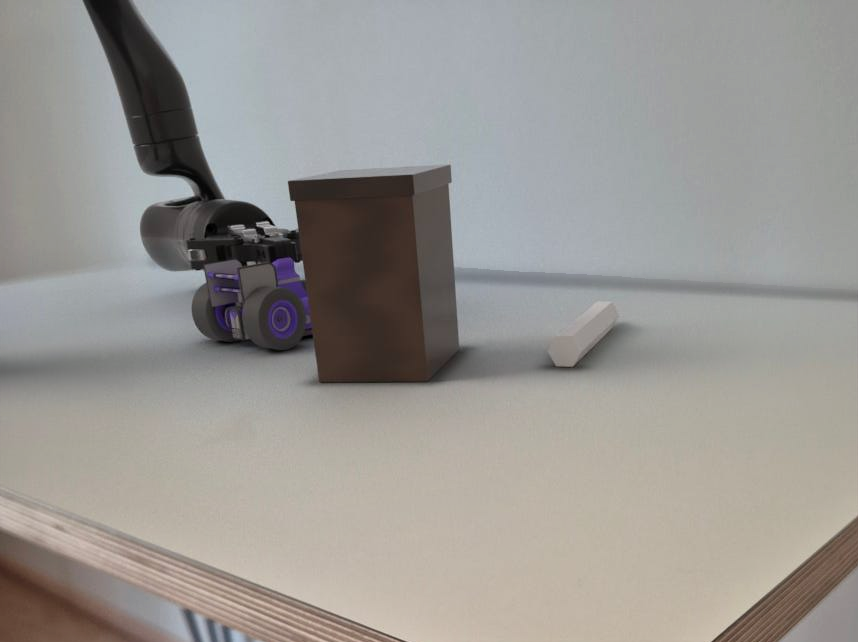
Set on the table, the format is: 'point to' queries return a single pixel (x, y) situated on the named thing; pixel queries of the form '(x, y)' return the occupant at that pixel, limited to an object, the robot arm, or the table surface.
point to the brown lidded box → (378, 271)
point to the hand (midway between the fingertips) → (285, 254)
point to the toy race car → (253, 304)
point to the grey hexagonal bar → (583, 334)
